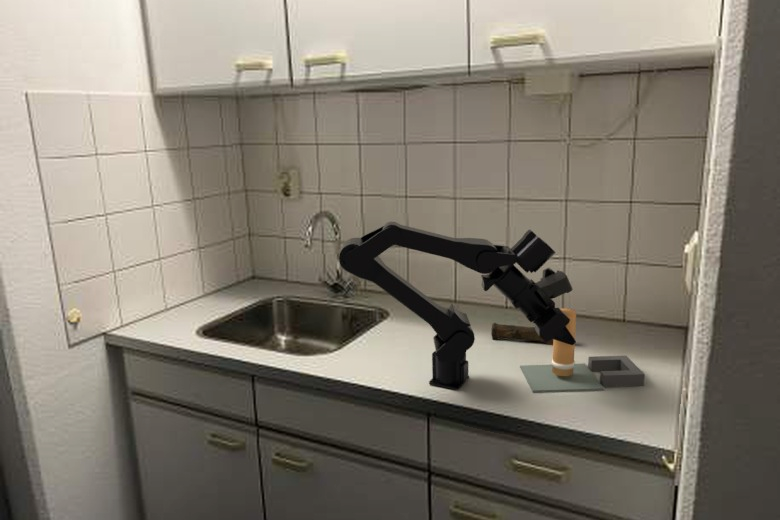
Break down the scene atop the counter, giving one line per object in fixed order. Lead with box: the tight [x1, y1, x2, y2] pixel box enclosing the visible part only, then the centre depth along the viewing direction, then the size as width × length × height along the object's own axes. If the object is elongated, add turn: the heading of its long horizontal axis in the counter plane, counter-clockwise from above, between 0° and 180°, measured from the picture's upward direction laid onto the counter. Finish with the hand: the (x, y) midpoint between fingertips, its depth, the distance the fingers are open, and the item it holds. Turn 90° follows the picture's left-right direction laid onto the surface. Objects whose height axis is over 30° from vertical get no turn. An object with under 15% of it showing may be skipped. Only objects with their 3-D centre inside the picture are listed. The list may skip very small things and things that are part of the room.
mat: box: [519, 363, 605, 393], centre depth 123 cm, size 14×12×1 cm
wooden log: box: [491, 322, 553, 346], centre depth 142 cm, size 19×4×5 cm, turn 68°
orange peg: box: [551, 307, 577, 376], centre depth 121 cm, size 4×4×13 cm
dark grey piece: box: [587, 355, 646, 388], centre depth 122 cm, size 8×9×2 cm
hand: (570, 339), depth 121 cm, fingers closed on orange peg, 4 cm apart
